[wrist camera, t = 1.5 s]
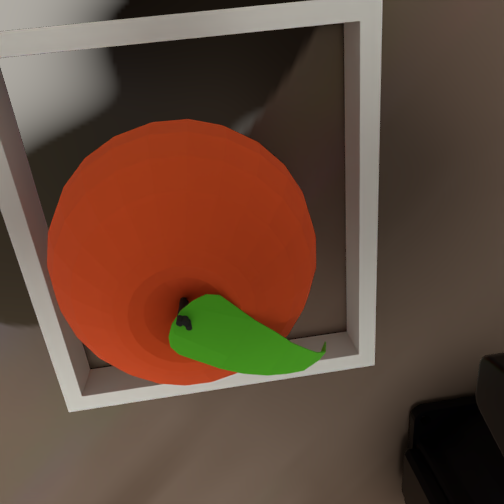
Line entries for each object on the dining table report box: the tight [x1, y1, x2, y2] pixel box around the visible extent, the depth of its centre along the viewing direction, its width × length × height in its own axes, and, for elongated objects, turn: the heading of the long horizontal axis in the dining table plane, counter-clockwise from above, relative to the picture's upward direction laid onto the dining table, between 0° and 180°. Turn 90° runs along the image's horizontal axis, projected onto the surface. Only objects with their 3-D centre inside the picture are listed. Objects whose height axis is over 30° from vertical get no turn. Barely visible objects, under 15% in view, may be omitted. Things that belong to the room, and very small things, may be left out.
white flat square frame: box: [0, 0, 383, 412], centre depth 15 cm, size 11×12×2 cm
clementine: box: [47, 119, 326, 386], centre depth 13 cm, size 8×7×7 cm
